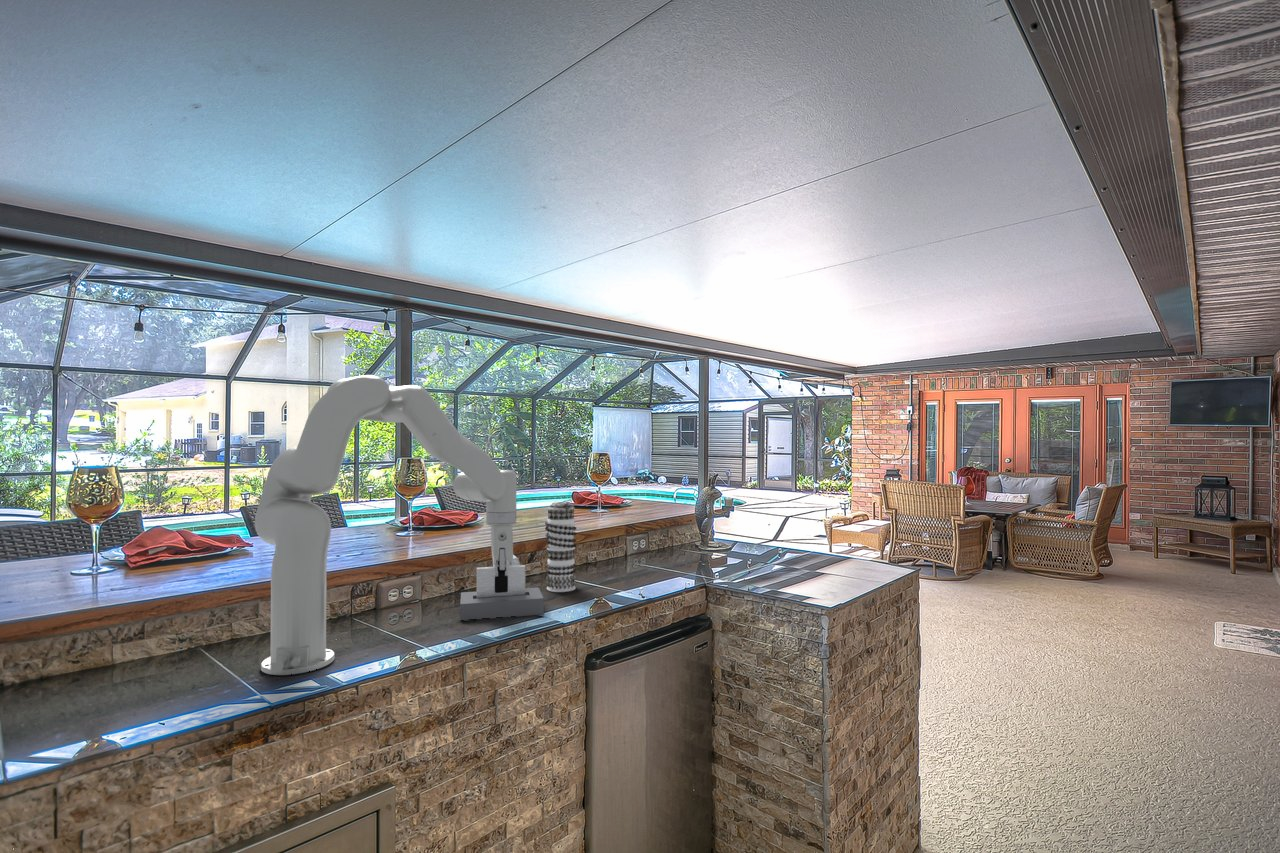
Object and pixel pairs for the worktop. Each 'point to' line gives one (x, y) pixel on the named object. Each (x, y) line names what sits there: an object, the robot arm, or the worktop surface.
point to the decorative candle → (560, 547)
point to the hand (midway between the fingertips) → (501, 590)
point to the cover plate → (488, 582)
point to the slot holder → (501, 605)
